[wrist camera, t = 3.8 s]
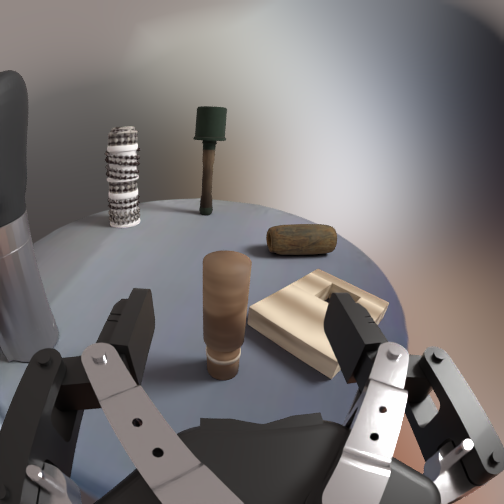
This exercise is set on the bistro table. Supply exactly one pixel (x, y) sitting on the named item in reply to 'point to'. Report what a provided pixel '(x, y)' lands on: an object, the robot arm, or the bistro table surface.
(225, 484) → the robot arm
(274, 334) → the board
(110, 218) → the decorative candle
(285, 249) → the stone weight
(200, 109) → the potato masher grenade
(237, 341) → the peg
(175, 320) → the bistro table surface
